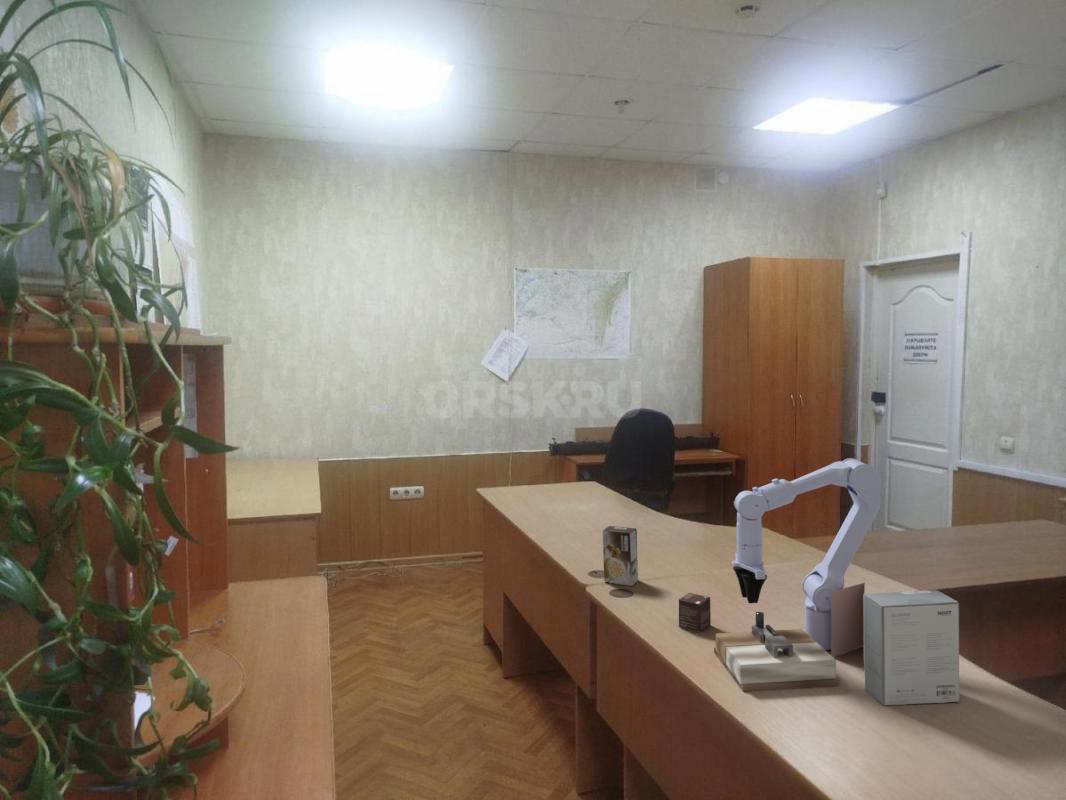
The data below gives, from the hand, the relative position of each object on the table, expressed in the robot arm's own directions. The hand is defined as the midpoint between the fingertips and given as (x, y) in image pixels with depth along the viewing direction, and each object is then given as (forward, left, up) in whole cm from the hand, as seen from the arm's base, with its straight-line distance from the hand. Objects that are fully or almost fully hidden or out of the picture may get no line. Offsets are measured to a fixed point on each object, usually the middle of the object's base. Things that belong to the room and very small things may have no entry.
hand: (749, 599), depth 169 cm
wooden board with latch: (0, +14, -10) cm, 17 cm away
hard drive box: (-22, +29, -11) cm, 38 cm away
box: (+10, -11, -11) cm, 19 cm away
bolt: (0, +9, -5) cm, 10 cm away
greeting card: (-21, +10, -11) cm, 26 cm away
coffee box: (+22, -48, -11) cm, 54 cm away
